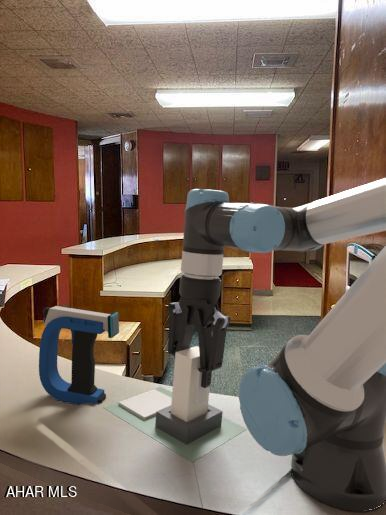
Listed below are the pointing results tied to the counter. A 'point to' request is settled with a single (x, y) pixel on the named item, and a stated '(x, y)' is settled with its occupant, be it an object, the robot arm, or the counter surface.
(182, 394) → the plug
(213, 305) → the robot arm
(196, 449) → the green socket board
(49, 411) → the counter surface
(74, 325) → the handheld scanner
